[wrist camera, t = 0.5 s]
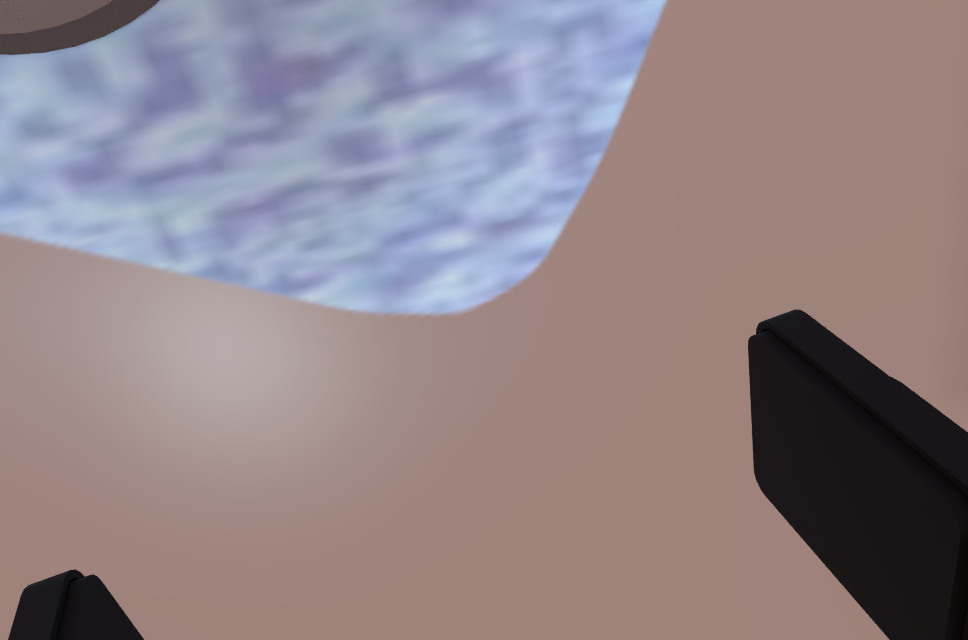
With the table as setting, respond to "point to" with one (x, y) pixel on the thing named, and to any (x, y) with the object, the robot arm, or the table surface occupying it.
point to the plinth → (76, 29)
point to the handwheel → (43, 13)
